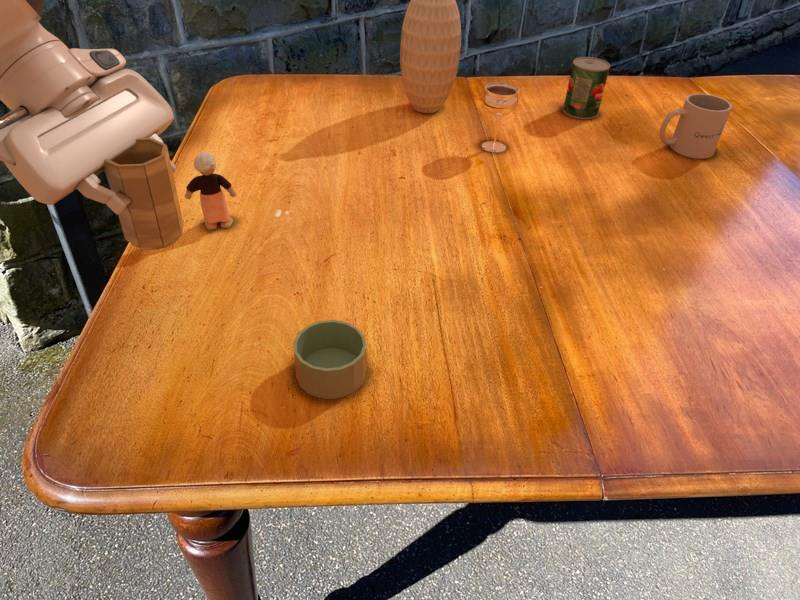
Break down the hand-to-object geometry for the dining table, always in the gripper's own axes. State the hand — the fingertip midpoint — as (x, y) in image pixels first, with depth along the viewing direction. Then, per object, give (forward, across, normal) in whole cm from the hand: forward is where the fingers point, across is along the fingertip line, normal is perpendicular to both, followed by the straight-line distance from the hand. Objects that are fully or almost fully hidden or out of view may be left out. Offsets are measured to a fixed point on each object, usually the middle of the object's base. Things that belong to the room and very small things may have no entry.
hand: (149, 191), depth 72 cm
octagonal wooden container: (+4, 0, +5) cm, 6 cm away
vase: (+20, +81, +9) cm, 84 cm away
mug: (+59, +85, -30) cm, 107 cm away
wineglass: (+33, +69, -4) cm, 76 cm away
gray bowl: (+30, -1, -1) cm, 30 cm away
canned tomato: (+43, +94, -14) cm, 104 cm away
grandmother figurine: (+8, +22, +21) cm, 32 cm away
